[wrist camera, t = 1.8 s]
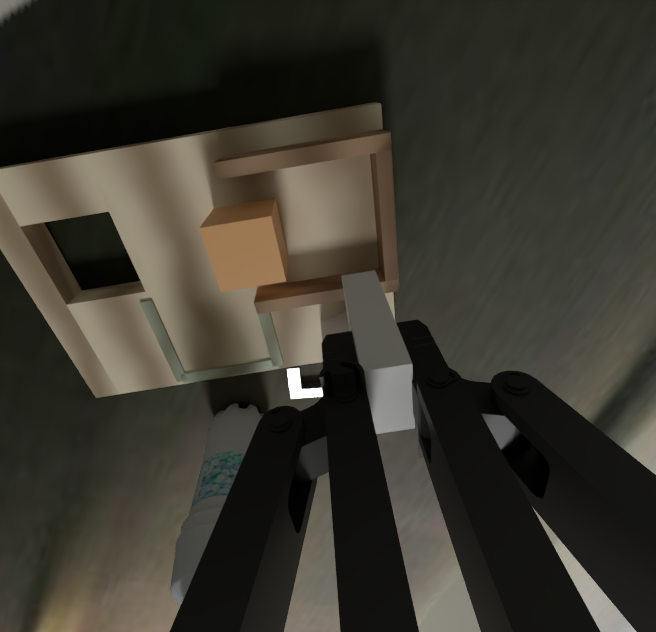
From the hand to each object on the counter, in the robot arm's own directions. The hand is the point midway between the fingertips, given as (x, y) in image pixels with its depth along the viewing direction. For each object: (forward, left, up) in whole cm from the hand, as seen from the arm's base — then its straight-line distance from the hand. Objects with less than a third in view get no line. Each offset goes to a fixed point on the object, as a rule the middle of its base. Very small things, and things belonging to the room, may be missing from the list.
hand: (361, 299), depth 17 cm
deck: (-10, -3, -15) cm, 19 cm away
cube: (-6, 0, -13) cm, 14 cm away
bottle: (-13, -21, -15) cm, 29 cm away
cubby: (-2, 0, -13) cm, 13 cm away
